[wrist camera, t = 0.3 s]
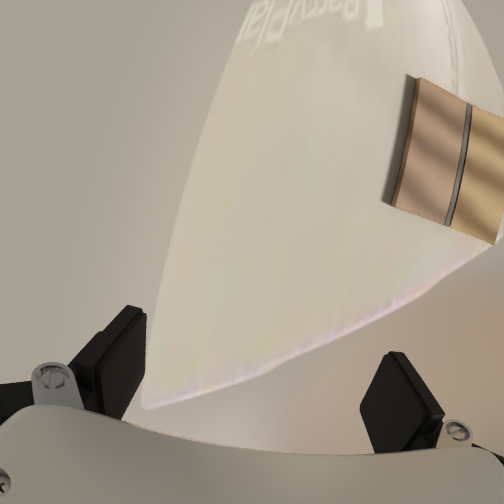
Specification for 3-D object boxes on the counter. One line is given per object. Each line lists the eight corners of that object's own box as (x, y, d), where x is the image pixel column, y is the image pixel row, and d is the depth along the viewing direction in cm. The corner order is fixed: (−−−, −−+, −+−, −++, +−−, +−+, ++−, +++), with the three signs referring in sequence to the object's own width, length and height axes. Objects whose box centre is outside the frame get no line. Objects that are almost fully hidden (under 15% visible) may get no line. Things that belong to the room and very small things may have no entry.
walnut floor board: (416, 79, 34) (421, 76, 32) (465, 106, 34) (471, 105, 32) (391, 205, 39) (395, 207, 37) (443, 225, 39) (449, 226, 37)
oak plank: (471, 109, 34) (472, 106, 32) (513, 125, 30) (515, 123, 29) (449, 227, 39) (450, 227, 37) (491, 244, 35) (494, 245, 34)
